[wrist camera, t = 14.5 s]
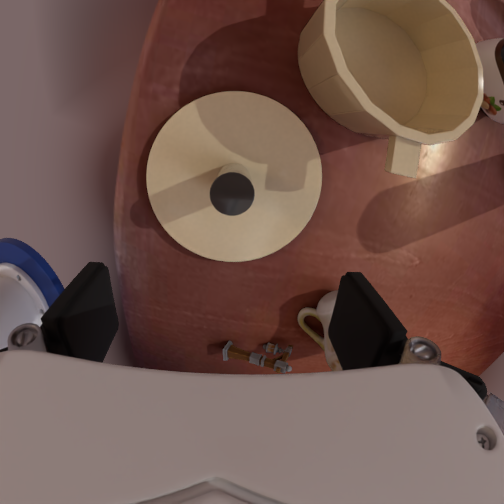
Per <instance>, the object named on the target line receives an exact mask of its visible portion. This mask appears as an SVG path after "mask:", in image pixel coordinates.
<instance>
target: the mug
mask: <svg viewBox="0 0 504 504" xmlns="http://www.w3.org/2000/svg"><path fill="white" fill-rule="evenodd" d="M337 293H338V290H336V291H332V292H330V293H328V294H326V295H325V296H323V297H322V299H321V300H320V301H319V303H318V306H317V309H314V308H309V307H306V308H303V309H301V311H300V312H299V314H298V318H297V319H298V323H299V325H300V327H301V328H302V329H303V330H304V331H305V332H306V333H307V334H308V335H309V336H311V337H312V338H313V339H314V341H316V342H317V343H318V344H319V345H320V346H321V348H322V349H323V350H324V351H325V357H326V361H327V363H328V365H329V367H330V368H331V370H332V371H342V367H341V365H340V362H339V360H338V358H337V355H336V353H335V351H334V348H333V346H332V344H331V341H330V339H329V336H328V328H329V324H330V320H331V317H332V313H333V309H334V305H335V301H336V297H337ZM309 315H311V316H314V317H316V318H317V319H318V320H319V321H320V322H321V323H322V325H323V328H324V338H323V337H321V336H320V335H318V334H317V333H316V332H314V331H313V330H312V329H311V328H310V327H309V326H308V325H307V324H306V323H305V322H304V318H305V317H306V316H309Z"/></svg>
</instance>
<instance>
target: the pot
mask: <svg viewBox="0 0 504 504" xmlns="http://www.w3.org/2000/svg"><path fill="white" fill-rule="evenodd" d="M298 62H299V68H300V72H301V75H302V78H303V80H304V83H305V85H306V87H307V89H308V91H309V93H310V94H311V96H312V97H313V99H314V100H315V101H316V103H317V104H318V105H319V106H320V107H321V108H322V110H323V111H324V112H325V113H327V114H328V115H329V116H330V117H331V118H332V119H334V120H335V121H336V122H338V123H339V124H341V125H342V126H344V127H346V128H348V129H350V130H351V131H353V132H355V133H360V134H363V135H368V136H373V137H377V138H382V139H389V143H388V150H387V157H386V164H385V171H387V172H390V173H393V174H398V175H402V176H407V177H411V178H416V175H417V169H418V163H419V156H420V149H421V144H424V145H434V144H439V143H444V142H450V141H455V140H456V139H457V138H459V137H460V136H461V135H462V134H463V133H464V132H465V131H466V130H467V129H468V128H470V127H471V126H472V125H473V123H474V122H475V120H476V117H477V115H478V112H479V109H480V107H481V104H482V101H483V67H482V63H481V60H480V57H479V54H478V51H477V47H476V45H475V42H474V39H473V37H472V35H471V34H470V32H469V30H468V29H467V27H466V26H465V24H464V22H463V21H462V19H461V18H460V16H459V15H458V14H457V12H456V11H455V10H454V8H453V7H452V6H451V5H449V4H448V3H447V2H446V1H445V0H323V1H322V2H321V4H320V5H319V7H318V8H317V9H316V11H315V12H314V14H313V15H312V16H311V18H310V19H309V21H308V22H307V24H306V26H305V27H304V29H303V30H302V32H301V34H300V39H299V45H298Z"/></svg>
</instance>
